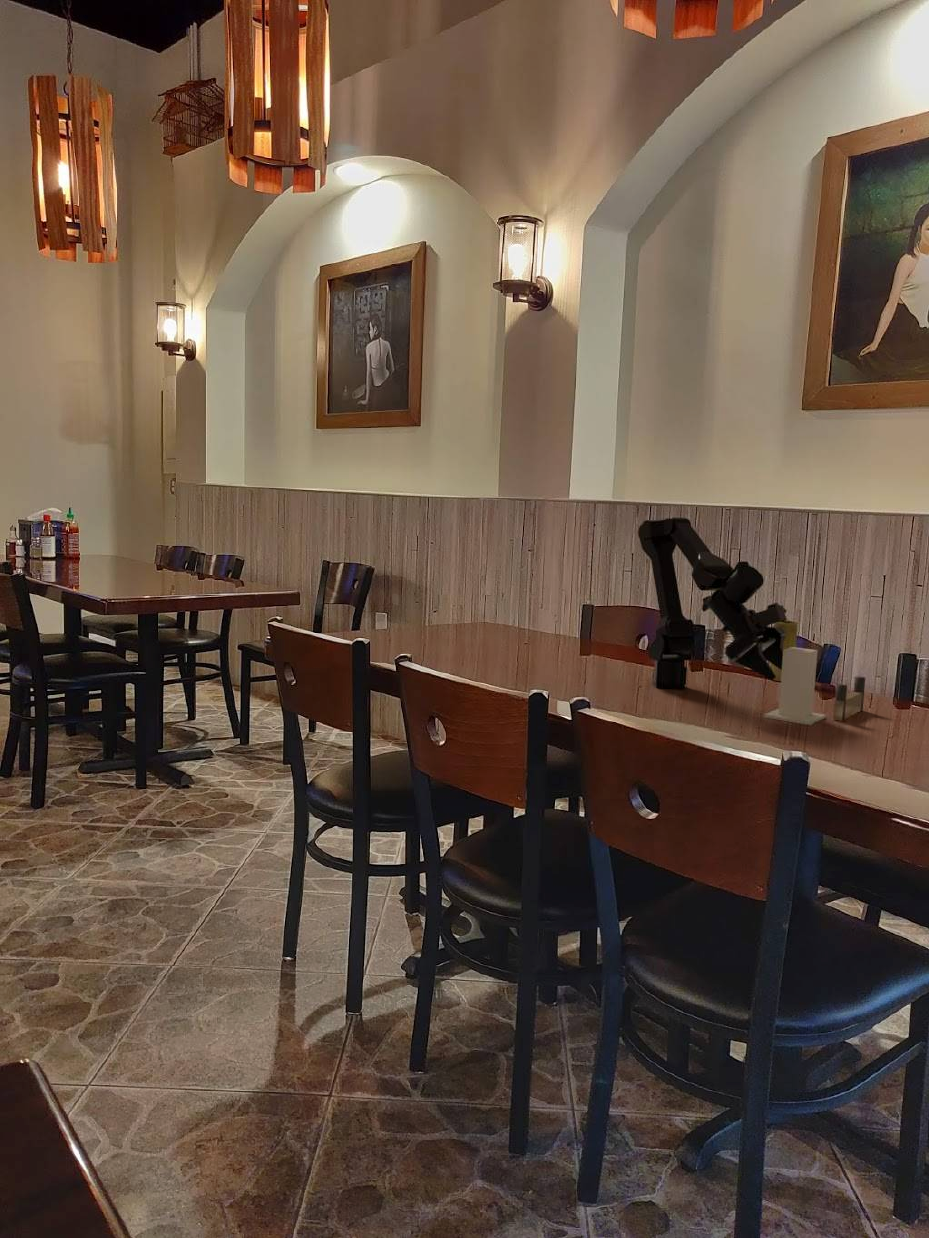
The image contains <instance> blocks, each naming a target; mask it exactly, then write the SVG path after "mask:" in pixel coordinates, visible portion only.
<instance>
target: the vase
mask: <svg viewBox="0 0 929 1238" xmlns="http://www.w3.org/2000/svg"><path fill="white" fill-rule="evenodd" d="M774 626H780V627H781V628H782V629H783V630H784V631H785V633H786V634H785V635H784V636H785V639H784V643H783V649H787V648H791V647H796V648H797V639H798V636H797V635H798V626H799V625H798V622H797V621H795V620H785V621H782V622H777V623H774ZM770 663H771V662H770ZM770 667H771V669H772V670H773V672H774V674H775V676H776V678H775V679H774V680H775V682H780V681H781V673H782V670H781V669H779V668H778V667H776V666H775V665H773V664H772V663H771V664H770ZM774 680H773V681H774Z"/></svg>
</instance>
